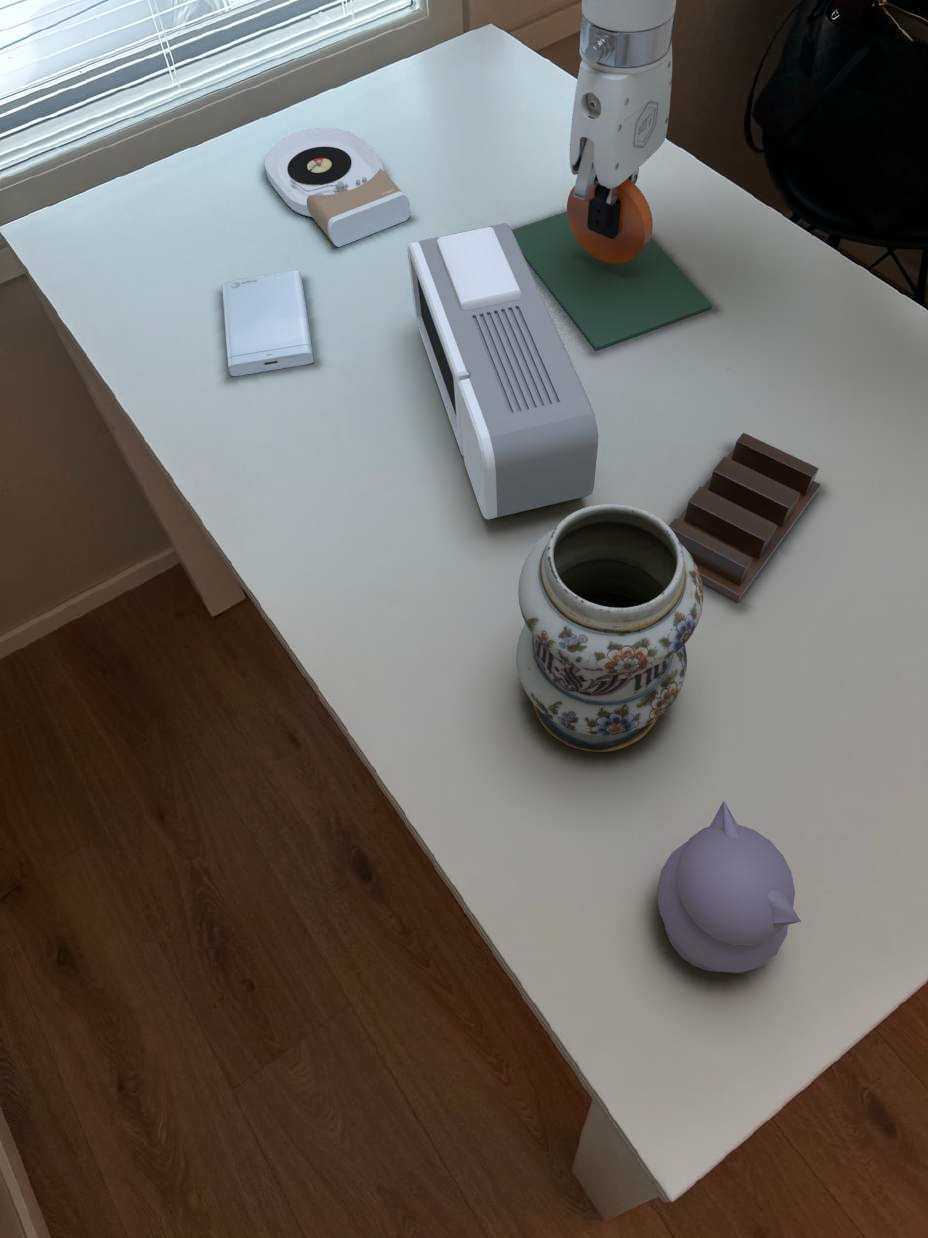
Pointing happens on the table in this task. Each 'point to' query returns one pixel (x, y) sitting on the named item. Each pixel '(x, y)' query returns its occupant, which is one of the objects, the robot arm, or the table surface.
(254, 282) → the hard drive
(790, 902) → the cat figurine
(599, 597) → the apothecary jar
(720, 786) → the table surface
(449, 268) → the alarm clock
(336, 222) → the record player
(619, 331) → the mat
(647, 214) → the disc
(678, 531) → the rack
